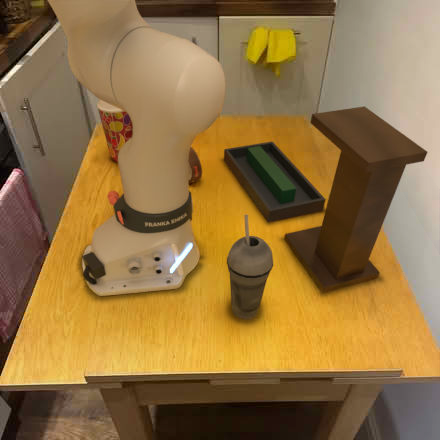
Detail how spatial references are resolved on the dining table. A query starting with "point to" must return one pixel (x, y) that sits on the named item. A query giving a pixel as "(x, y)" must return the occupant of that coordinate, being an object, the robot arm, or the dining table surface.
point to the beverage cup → (248, 273)
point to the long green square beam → (271, 175)
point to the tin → (194, 166)
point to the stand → (354, 197)
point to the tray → (260, 194)
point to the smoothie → (115, 127)
